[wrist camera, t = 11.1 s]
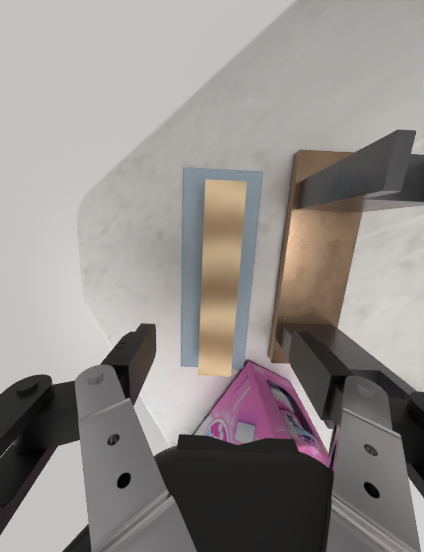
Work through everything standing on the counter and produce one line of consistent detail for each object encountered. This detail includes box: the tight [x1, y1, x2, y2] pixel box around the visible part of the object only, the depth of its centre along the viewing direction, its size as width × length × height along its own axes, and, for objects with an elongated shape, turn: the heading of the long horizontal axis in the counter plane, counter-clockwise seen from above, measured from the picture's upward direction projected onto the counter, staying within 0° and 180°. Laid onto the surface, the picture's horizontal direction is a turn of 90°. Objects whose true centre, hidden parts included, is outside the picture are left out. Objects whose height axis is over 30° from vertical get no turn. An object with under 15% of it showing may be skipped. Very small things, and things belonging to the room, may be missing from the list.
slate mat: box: [181, 168, 263, 369], centre depth 26 cm, size 26×9×1 cm, turn 177°
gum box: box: [195, 362, 328, 466], centre depth 24 cm, size 24×8×14 cm, turn 150°
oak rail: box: [198, 179, 247, 377], centre depth 23 cm, size 22×4×4 cm, turn 177°
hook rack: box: [268, 130, 424, 429], centre depth 19 cm, size 26×8×13 cm, turn 177°
